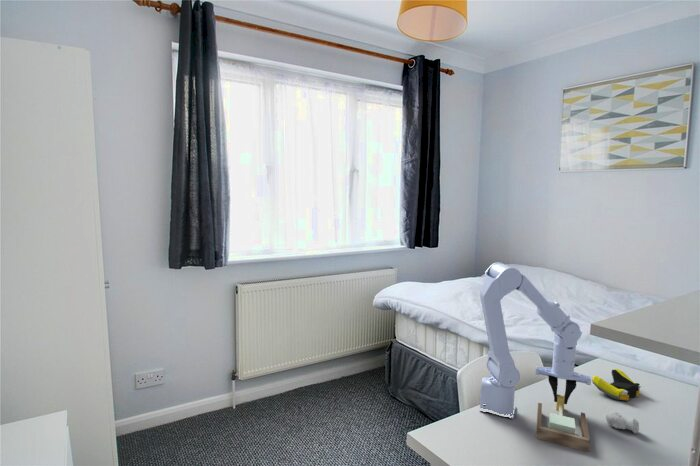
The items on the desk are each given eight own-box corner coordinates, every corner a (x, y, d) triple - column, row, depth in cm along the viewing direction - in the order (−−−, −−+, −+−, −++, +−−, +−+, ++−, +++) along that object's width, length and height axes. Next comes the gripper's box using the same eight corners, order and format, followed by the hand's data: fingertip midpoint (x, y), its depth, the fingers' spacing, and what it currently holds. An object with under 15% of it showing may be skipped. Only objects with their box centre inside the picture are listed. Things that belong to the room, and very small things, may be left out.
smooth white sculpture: (602, 427, 113) (611, 417, 115) (633, 442, 106) (643, 431, 108) (600, 414, 112) (610, 404, 114) (632, 429, 105) (641, 418, 107)
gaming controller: (587, 391, 131) (620, 405, 122) (589, 375, 130) (621, 388, 122) (613, 381, 138) (646, 394, 129) (615, 366, 137) (647, 378, 128)
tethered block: (548, 436, 106) (549, 422, 106) (548, 404, 122) (549, 392, 121) (574, 442, 104) (575, 428, 103) (571, 409, 119) (572, 397, 119)
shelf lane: (536, 438, 105) (536, 427, 105) (537, 412, 118) (538, 402, 117) (588, 451, 100) (589, 440, 100) (584, 423, 112) (585, 413, 112)
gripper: (590, 358, 118) (587, 401, 120) (537, 348, 125) (534, 389, 126) (593, 367, 112) (589, 412, 113) (536, 357, 118) (533, 400, 120)
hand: (560, 401), depth 119 cm, fingers closed on tethered block, 2 cm apart
